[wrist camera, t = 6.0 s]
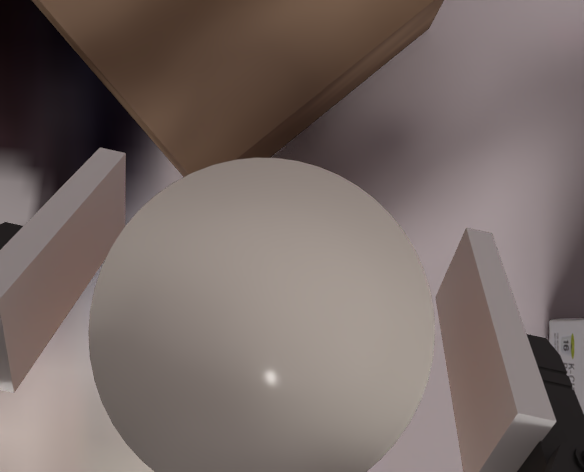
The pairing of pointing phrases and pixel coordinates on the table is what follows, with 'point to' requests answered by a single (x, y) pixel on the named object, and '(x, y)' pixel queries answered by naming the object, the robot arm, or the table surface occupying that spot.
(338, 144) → the table surface
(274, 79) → the wooden square slab
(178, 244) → the terracotta canister
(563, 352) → the tea box
